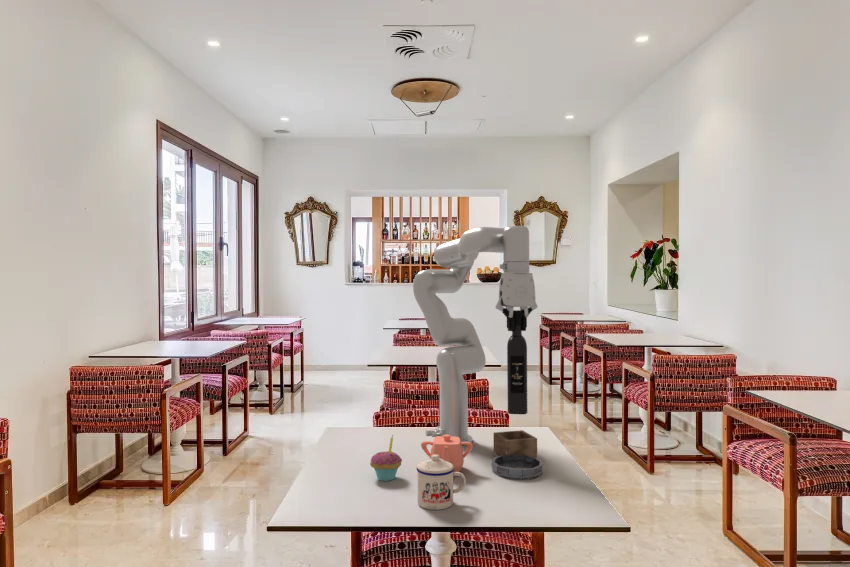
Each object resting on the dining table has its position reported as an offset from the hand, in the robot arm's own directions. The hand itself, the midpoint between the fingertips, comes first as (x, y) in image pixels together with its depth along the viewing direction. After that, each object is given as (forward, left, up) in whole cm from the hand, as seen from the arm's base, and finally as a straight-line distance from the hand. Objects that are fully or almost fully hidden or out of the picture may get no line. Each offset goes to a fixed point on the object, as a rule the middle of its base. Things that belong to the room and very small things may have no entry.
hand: (516, 330), depth 169 cm
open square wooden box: (+3, +8, -39) cm, 40 cm away
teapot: (-22, 0, -40) cm, 45 cm away
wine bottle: (0, 0, -24) cm, 24 cm away
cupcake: (-40, -1, -40) cm, 56 cm away
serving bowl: (-3, -6, -39) cm, 40 cm away
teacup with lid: (-31, -22, -40) cm, 55 cm away
